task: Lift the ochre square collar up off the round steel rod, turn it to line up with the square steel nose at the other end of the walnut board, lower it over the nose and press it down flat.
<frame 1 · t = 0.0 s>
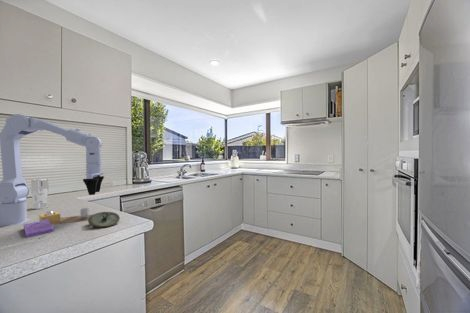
hand: (94, 193, 95), 10 cm above the worktop, tool pointing down, fingers open, 7 cm apart
lid: (104, 225, 83), on the worktop
sponges: (38, 231, 76), on the worktop, touching stand board
collar: (49, 221, 85), point 1 cm above the worktop, touching stand board
beer glass: (40, 208, 112), on the worktop
stand board: (67, 221, 88), on the worktop
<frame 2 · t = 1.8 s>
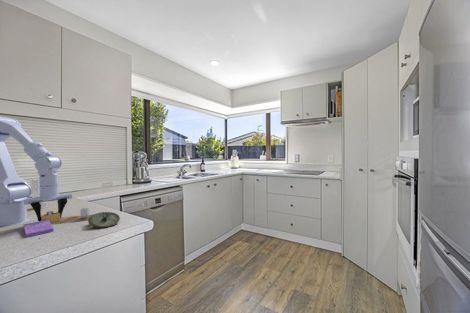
hand: (49, 219, 85), 2 cm above the worktop, tool pointing down, fingers closed on collar, 6 cm apart
collar: (49, 221, 85), point 1 cm above the worktop, touching gripper, stand board
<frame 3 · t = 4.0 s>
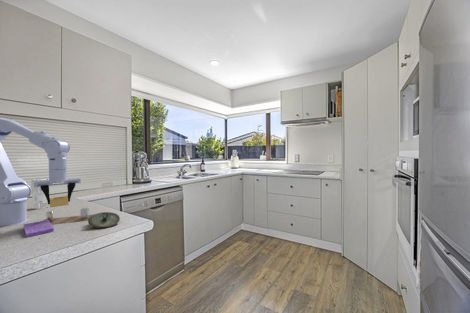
hand: (59, 202, 87), 8 cm above the worktop, tool pointing down, fingers closed on collar, 6 cm apart
collar: (59, 205, 86), point 7 cm above the worktop, touching gripper
when the fingers open (3 cm above the worktop, at t = 6.2 s): collar drops 1 cm, resting on stand board.
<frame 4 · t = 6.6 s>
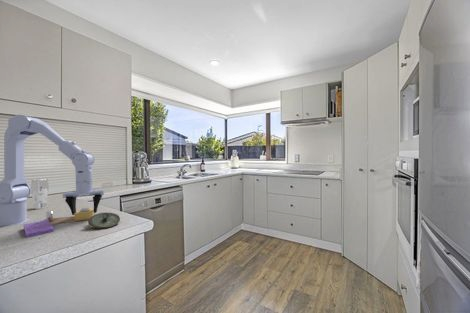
hand: (84, 213, 90), 3 cm above the worktop, tool pointing down, fingers open, 7 cm apart
collar: (84, 218, 90), point 1 cm above the worktop, touching stand board
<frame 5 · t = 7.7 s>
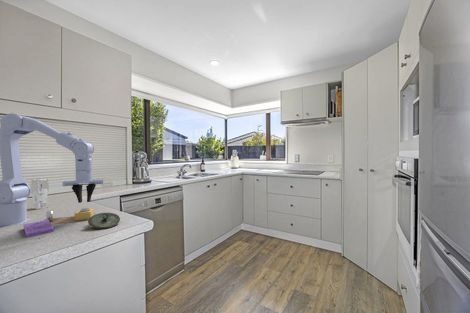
hand: (84, 202, 90), 7 cm above the worktop, tool pointing down, fingers closed
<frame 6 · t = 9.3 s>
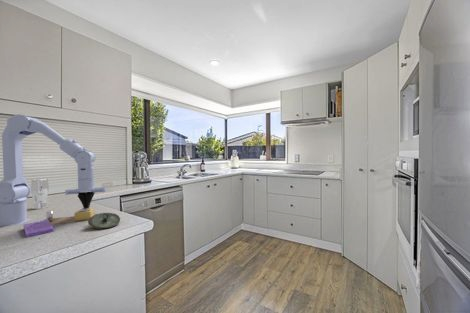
hand: (86, 209, 92), 4 cm above the worktop, tool pointing down, fingers closed, pressing on collar, stand board
collar: (84, 218, 90), point 1 cm above the worktop, touching gripper, stand board
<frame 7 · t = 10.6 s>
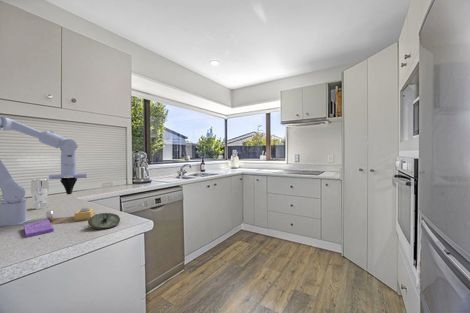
hand: (69, 194, 98), 9 cm above the worktop, tool pointing down, fingers closed
collar: (84, 218, 90), point 1 cm above the worktop, touching stand board
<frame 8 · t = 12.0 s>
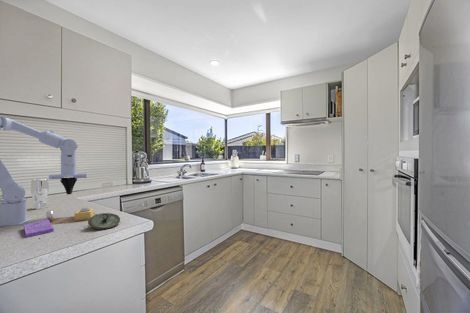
hand: (69, 194, 98), 9 cm above the worktop, tool pointing down, fingers closed
at the end: collar 0.0 cm from the target spot on the stand board, point 0.6 cm above the stand board's base; collar tilted 0°; the gripper is holding nothing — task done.
